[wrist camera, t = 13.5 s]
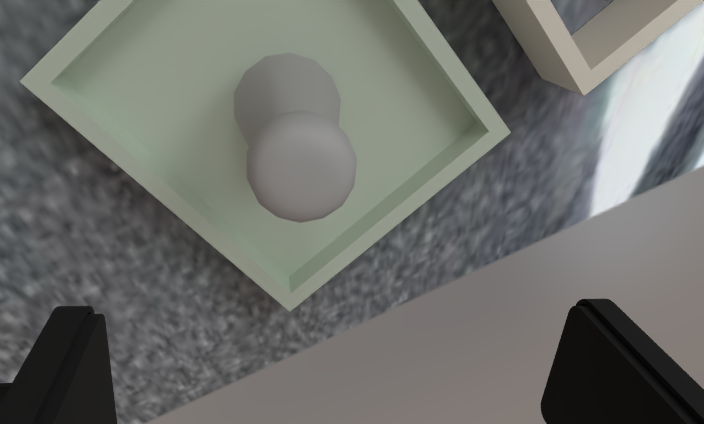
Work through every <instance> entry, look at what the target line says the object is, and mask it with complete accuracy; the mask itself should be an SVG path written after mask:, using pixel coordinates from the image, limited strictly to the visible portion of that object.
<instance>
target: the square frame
mask: <svg viewBox="0 0 704 424" xmlns="http://www.w3.org/2000/svg"><path fill="white" fill-rule="evenodd" d="M492 1H493V3H494V4H495V6H496V8H497V9H498V11H499V12H500V14H501V15H502V17H503V19H504V20H505V22H506V23H507V25H508V26H509V28H510V30H511V31H512V33H513V34H514V36H515V37H516V39H517V41H518V42H519V44H520V45H521V47H522V48H523V50H524V52H525V53H526V55H527V56H528V58H529V59H530V61H531V63H532V64H533V66H534V67H535V69H536V70H537V72H538V74H539V75H540V77H541V78H542V79H544V80H547V81H549V82H551V83H554V84H556V85H559V86H561V87H563V88H566V89H568V90H570V91H573V92H575V93H578V94H580V95H582V96H585V95H586V94H587V93H589V92H590V91H591V90H592V89H594V88H595V87H596V86H597V85H599V84H600V83H601V82H602V81H604V80H605V79H606V78H607V77H608V76H610V75H611V74H612V73H613V72H615V71H616V70H617V69H618V68H620V67H621V66H622V65H623V64H625V63H626V62H627V61H628V60H630V59H631V58H632V57H633V56H635V55H636V54H637V53H638V52H640V51H641V50H642V49H643V48H645V47H646V46H647V45H648V44H650V43H651V42H652V41H653V40H655V39H656V38H657V37H658V36H660V35H661V34H662V33H663V32H665V31H666V30H667V29H668V28H670V27H671V26H672V25H673V24H675V23H676V22H677V21H678V20H680V19H681V18H682V17H683V16H685V15H686V14H687V13H688V12H690V11H691V10H692V9H693V8H695V7H696V6H697V5H698V4H700V3H701V2H702V1H703V0H614V1H613V2H611V3H610V4H609V5H608V6H607V7H605V8H604V9H603V10H602V11H601V12H599V13H598V14H597V15H596V16H594V17H593V18H592V19H591V20H590V21H588V22H587V23H586V24H585V25H584V26H582V27H581V28H580V29H579V30H578V31H576V32H575V33H574V34H573V35H570V34H569V32H568V30H567V28H566V27H565V25H564V23H563V22H562V20H561V18H560V16H559V15H558V13H557V11H556V10H555V8H554V6H553V4H552V3H551V1H550V0H492Z"/></svg>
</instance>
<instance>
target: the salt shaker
mask: <svg viewBox="0 0 704 424" xmlns="http://www.w3.org/2000/svg"><path fill="white" fill-rule="evenodd" d="M340 103H341V98H340V96H339V93H338V91H337V88H336V85H335V83H334V80H333V78H332V76H331V75H330V74H329V73H328V72H327V71H326V70H324V69H323V68H322V67H321V66H320V65H319V64H318V63H317V62H316V61H315V60H314V59H310V58H307V57H303V56H300V55H296V54H293V53H285V54H278V55H270V56H265V57H264V58H262V59H261V60H260V61H258V62H257V63H256V64H254V65H253V66H252V67H250V68H249V69H248V70H246V71H245V73H244V75H243V77H242V79H241V80H240V82H239V84H238V86H237V88H236V90H235V91H234V118H235V120H236V122H237V124H238V126H239V129H240V131H241V133H242V135H243V137H244V139H245V141H246V142H247V144H248V146H249V148H248V150H247V180H248V182H249V184H250V186H251V188H252V190H253V192H254V194H255V196H256V198H257V200H258V202H259V204H260V205H261V206H263V207H264V208H265V209H267V210H268V211H269V212H271V213H272V214H273V215H275V216H276V217H278V218H282V219H286V220H290V221H294V222H299V223H302V222H307V221H312V220H318V219H323V218H325V217H326V216H328V215H329V214H331V213H332V212H334V211H335V210H337V209H338V208H340V207H341V206H343V204H344V202H345V201H346V199H347V197H348V196H349V194H350V193H351V191H352V189H353V188H354V184H355V175H356V167H357V157H356V155H355V152H354V150H353V147H352V145H351V142H350V140H349V137H348V136H347V134H346V133H345V132H344V131H343V130H342V129H341V128H340V127H339V116H340Z"/></svg>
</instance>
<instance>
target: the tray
mask: <svg viewBox="0 0 704 424" xmlns="http://www.w3.org/2000/svg"><path fill="white" fill-rule="evenodd" d="M285 53H293V54H296V55H300V56H303V57H307V58H310V59H314V60H315V61H316V62H317V63H318V64H319V65H320V66H321V67H322V68H323V69H324V70H326V71H327V72H328V73H329V74H330V75H331V76H332V78H333V80H334V83H335V85H336V88H337V91H338V93H339V96H340V98H341V103H340V116H339V127H340V128H341V129H342V130H343V131H344V132H345V133H346V134H347V136H348V137H349V140H350V142H351V145H352V147H353V150H354V152H355V155H356V157H357V167H356V175H355V184H354V188H353V189H352V191H351V193H350V194H349V196H348V197H347V199H346V201H345V202H344V204H343V206H341V207H340V208H338V209H337V210H335V211H334V212H332V213H331V214H329V215H328V216H326V217H325V218H323V219H318V220H312V221H307V222H302V223H299V222H294V221H290V220H286V219H282V218H278V217H276V216H275V215H273V214H272V213H271V212H269V211H268V210H267V209H265V208H264V207H263V206H261V205H260V204H259V202H258V200H257V198H256V196H255V194H254V192H253V190H252V188H251V186H250V184H249V182H248V180H247V150H248V148H249V146H248V144H247V142H246V141H245V139H244V137H243V135H242V133H241V131H240V129H239V126H238V124H237V122H236V120H235V118H234V91H235V90H236V88H237V86H238V84H239V82H240V80H241V79H242V77H243V75H244V73H245V71H246V70H248V69H249V68H250V67H252V66H253V65H254V64H256V63H257V62H258V61H260V60H261V59H262V58H264V57H265V56H270V55H278V54H285ZM19 82H21V83H22V84H23V85H24V86H25V87H26V88H28V89H29V90H30V91H31V92H32V93H34V94H35V95H36V96H37V97H38V98H39V99H41V100H42V101H43V102H44V103H45V104H46V105H48V106H49V107H50V108H51V109H52V110H53V111H55V112H56V113H57V114H58V115H59V116H61V117H62V118H63V119H64V120H65V121H66V122H68V123H69V124H70V125H71V126H72V127H73V128H75V129H76V130H77V131H78V132H79V133H80V134H82V135H83V136H84V137H85V138H86V139H87V140H89V141H90V142H91V143H92V144H93V145H95V146H96V147H97V148H98V149H99V150H100V151H102V152H103V153H104V154H105V155H106V156H107V157H109V158H110V159H111V160H112V161H113V162H114V163H116V164H117V165H118V166H119V167H120V168H122V169H123V170H124V171H125V172H126V173H127V174H129V175H130V176H131V177H132V178H133V179H134V180H136V181H137V182H138V183H139V184H140V185H141V186H143V187H144V188H145V189H146V190H147V191H149V192H150V193H151V194H152V195H153V196H154V197H156V198H157V199H158V200H159V201H160V202H161V203H163V204H164V205H165V206H166V207H167V208H168V209H170V210H171V211H172V212H173V213H174V214H176V215H177V216H178V217H179V218H180V219H181V220H183V221H184V222H185V223H186V224H187V225H188V226H190V227H191V228H192V229H193V230H194V231H195V232H197V233H198V234H199V235H200V236H201V237H203V238H204V239H205V240H206V241H207V242H208V243H210V244H211V245H212V246H213V247H214V248H215V249H217V250H218V251H219V252H220V253H221V254H222V255H224V256H225V257H226V258H227V259H228V260H230V261H231V262H232V263H233V264H234V265H235V266H237V267H238V268H239V269H240V270H241V271H242V272H244V273H245V274H246V275H247V276H248V277H249V278H251V279H252V280H253V281H254V282H255V283H257V284H258V285H259V286H260V287H261V288H262V289H264V290H265V291H266V292H267V293H268V294H269V295H271V296H272V297H273V298H274V299H275V300H276V301H278V302H279V303H280V304H281V305H282V306H284V307H285V308H286V309H287V310H288V311H289V312H290V311H291V310H293V309H294V308H295V307H296V306H298V305H299V304H300V303H301V302H303V301H304V300H305V299H306V298H307V297H309V296H310V295H311V294H312V293H314V292H315V291H316V290H317V289H319V288H320V287H321V286H322V285H323V284H325V283H326V282H327V281H328V280H330V279H331V278H332V277H333V276H335V275H336V274H337V273H338V272H340V271H341V270H342V269H343V268H344V267H346V266H347V265H348V264H349V263H351V262H352V261H353V260H354V259H356V258H357V257H358V256H359V255H361V254H362V253H363V252H364V251H365V250H367V249H368V248H369V247H370V246H372V245H373V244H374V243H375V242H377V241H378V240H379V239H380V238H382V237H383V236H384V235H385V234H386V233H388V232H389V231H390V230H391V229H393V228H394V227H395V226H396V225H398V224H399V223H400V222H401V221H403V220H404V219H405V218H406V217H407V216H409V215H410V214H411V213H412V212H414V211H415V210H416V209H417V208H419V207H420V206H421V205H422V204H424V203H425V202H426V201H427V200H428V199H430V198H431V197H432V196H433V195H435V194H436V193H437V192H438V191H440V190H441V189H442V188H443V187H445V186H446V185H447V184H448V183H449V182H451V181H452V180H453V179H454V178H456V177H457V176H458V175H459V174H461V173H462V172H463V171H464V170H466V169H467V168H468V167H469V166H470V165H472V164H473V163H474V162H475V161H477V160H478V159H479V158H480V157H482V156H483V155H484V154H485V153H487V152H488V151H489V150H490V149H491V148H493V147H494V146H495V145H496V144H498V143H499V142H500V141H501V140H503V139H504V138H505V137H506V136H508V135H509V134H510V133H511V132H510V130H509V129H508V127H507V126H506V125H505V123H504V122H503V120H502V119H501V118H500V116H499V115H498V113H497V112H496V111H495V109H494V108H493V106H492V105H491V103H490V102H489V101H488V99H487V98H486V96H485V95H484V94H483V92H482V91H481V89H480V88H479V86H478V85H477V84H476V82H475V81H474V79H473V78H472V77H471V75H470V74H469V72H468V71H467V69H466V68H465V67H464V65H463V64H462V62H461V61H460V60H459V58H458V57H457V55H456V54H455V52H454V51H453V50H452V48H451V47H450V45H449V44H448V43H447V41H446V40H445V38H444V37H443V36H442V34H441V33H440V31H439V30H438V28H437V27H436V26H435V24H434V23H433V21H432V20H431V19H430V17H429V16H428V14H427V13H426V11H425V10H424V9H423V7H422V6H421V4H420V3H419V2H418V0H100V1H99V2H98V3H97V4H96V5H95V6H94V7H93V8H92V9H91V10H90V11H89V12H88V13H87V14H86V15H85V16H84V17H83V18H82V19H81V20H80V21H79V22H78V23H77V24H76V25H75V26H74V27H73V28H72V29H71V30H70V31H69V32H68V33H67V34H66V35H65V36H64V37H63V38H62V39H61V40H60V41H59V42H58V43H57V44H56V45H55V46H54V47H53V48H52V49H51V50H50V51H49V52H48V53H47V54H46V55H45V56H44V57H43V58H42V59H41V60H40V61H39V62H38V63H37V64H36V65H35V66H34V67H33V68H32V69H31V70H30V71H29V72H28V73H27V74H26V75H25V76H24V77H23V78H22V79H21V80H20V81H19Z"/></svg>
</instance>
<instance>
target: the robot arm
mask: <svg viewBox="0 0 704 424" xmlns="http://www.w3.org/2000/svg"><path fill="white" fill-rule="evenodd" d="M541 412H542V415H543V418H544V420H545V422H546V423H547V424H704V389H703V388H701V386H699V385H698V384H697V383H696V382H695V381H694V380H693V379H692V378H691V377H690V376H689V375H688V374H687V373H686V372H685V371H684V370H683V369H682V368H681V367H680V366H679V365H678V364H677V363H676V362H675V361H674V360H673V359H672V358H671V357H669V356H668V355H667V354H666V353H665V352H664V351H663V350H662V349H661V348H660V347H659V346H658V345H657V344H656V343H655V342H654V341H653V340H652V339H651V338H650V337H649V336H648V335H647V334H646V333H645V332H644V331H642V330H641V329H640V328H639V327H638V326H637V325H636V324H635V323H634V322H633V321H632V320H631V319H630V318H629V317H628V316H627V315H626V314H625V313H624V312H623V311H622V310H621V309H620V308H619V307H618V306H617V305H616V304H615V303H613V302H612V301H611V300H609V299H582V300H580V301H578V302H577V304H576V306H573V307H572V308H571V309H570V311H569V313H568V316H567V319H566V323H565V326H564V329H563V333H562V335H561V339H560V342H559V345H558V348H557V352H556V355H555V359H554V362H553V365H552V368H551V371H550V374H549V377H548V381H547V384H546V387H545V390H544V394H543V397H542V400H541ZM0 424H117V418H116V410H115V401H114V392H113V383H112V375H111V366H110V357H109V349H108V340H107V331H106V322H105V317H104V315H103V314H94V310H93V308H92V307H91V306H58V307H56V308H55V309H54V311H53V312H52V314H51V316H50V318H49V319H48V321H47V323H46V325H45V326H44V328H43V330H42V332H41V333H40V335H39V337H38V339H37V340H36V342H35V344H34V346H33V348H32V349H31V351H30V353H29V355H28V356H27V358H26V360H25V362H24V363H23V365H22V367H21V369H20V370H19V372H18V374H17V376H16V377H15V379H14V381H13V383H0Z"/></svg>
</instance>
